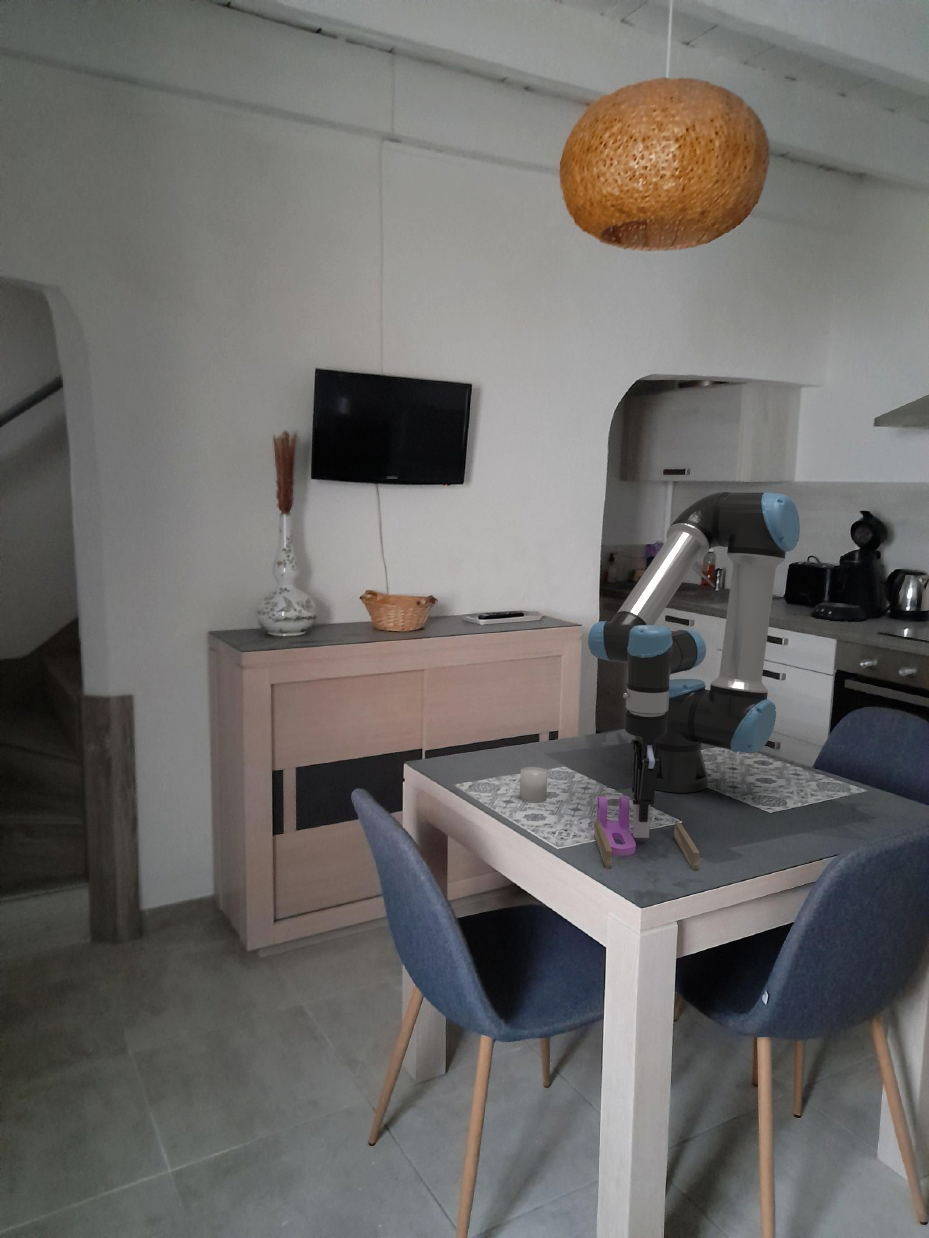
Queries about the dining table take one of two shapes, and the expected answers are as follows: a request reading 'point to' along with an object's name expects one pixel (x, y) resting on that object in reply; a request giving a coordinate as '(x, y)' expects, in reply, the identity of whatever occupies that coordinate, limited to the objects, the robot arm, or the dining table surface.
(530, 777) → the white pillar candle
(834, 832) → the dining table surface
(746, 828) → the dining table surface
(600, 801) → the bracket
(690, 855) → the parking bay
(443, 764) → the dining table surface
